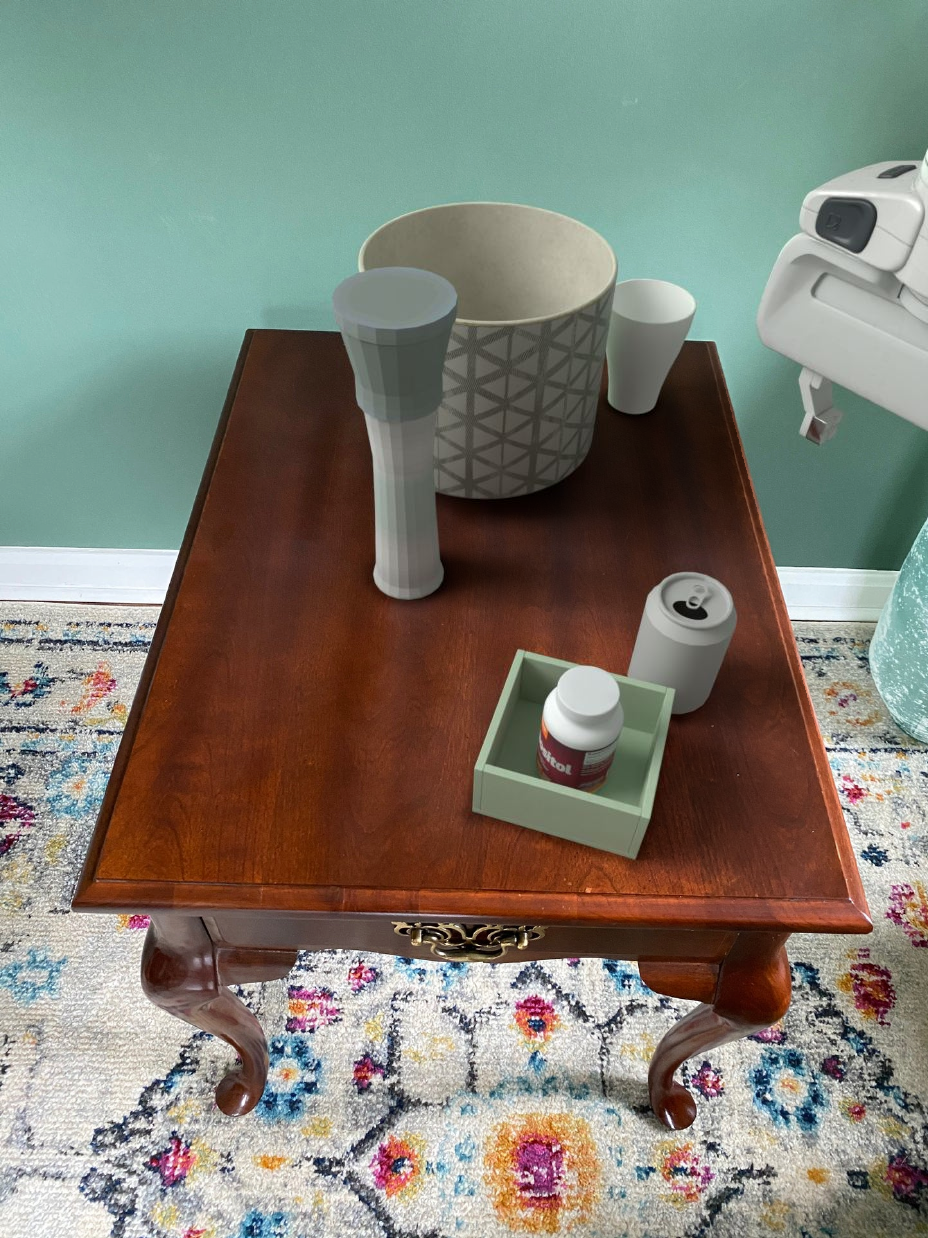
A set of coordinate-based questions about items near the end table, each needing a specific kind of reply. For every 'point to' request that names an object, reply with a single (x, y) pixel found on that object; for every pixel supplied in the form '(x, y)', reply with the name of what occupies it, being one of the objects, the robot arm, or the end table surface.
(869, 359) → the robot arm
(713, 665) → the can
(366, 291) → the grey tall flared cylinder
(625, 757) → the bin
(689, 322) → the cup
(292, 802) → the end table surface
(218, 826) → the end table surface
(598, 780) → the pill bottle
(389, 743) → the end table surface
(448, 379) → the planter
